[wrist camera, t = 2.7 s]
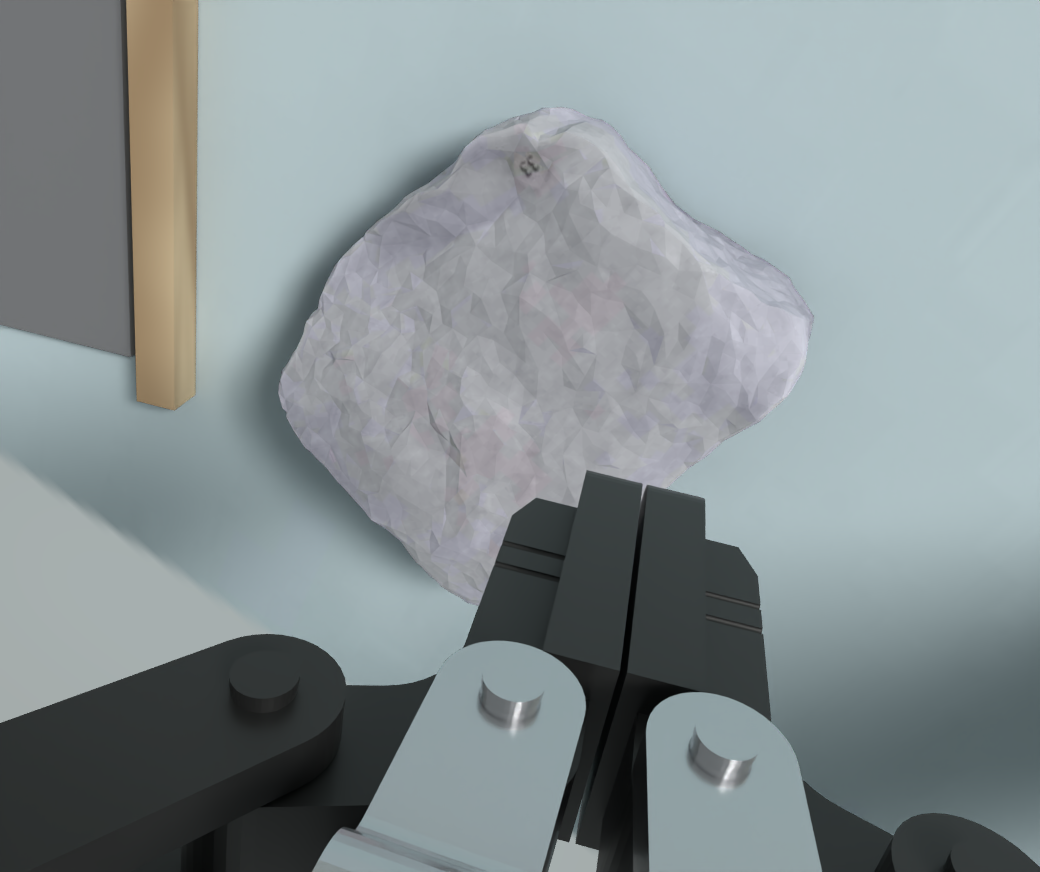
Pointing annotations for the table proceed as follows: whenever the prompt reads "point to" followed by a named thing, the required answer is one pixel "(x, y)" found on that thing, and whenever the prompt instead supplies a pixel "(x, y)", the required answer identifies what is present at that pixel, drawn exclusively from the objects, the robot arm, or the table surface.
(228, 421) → the table surface
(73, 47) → the mat
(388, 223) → the stone block
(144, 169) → the strip
